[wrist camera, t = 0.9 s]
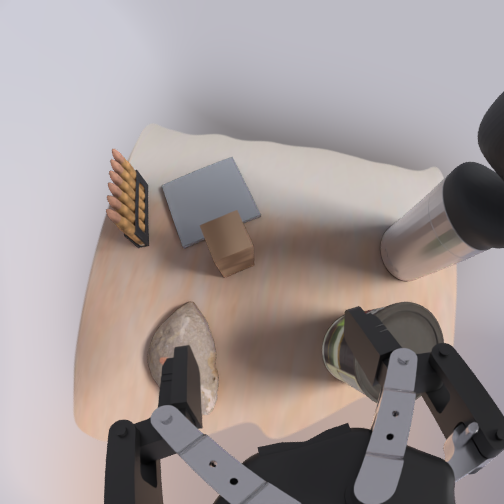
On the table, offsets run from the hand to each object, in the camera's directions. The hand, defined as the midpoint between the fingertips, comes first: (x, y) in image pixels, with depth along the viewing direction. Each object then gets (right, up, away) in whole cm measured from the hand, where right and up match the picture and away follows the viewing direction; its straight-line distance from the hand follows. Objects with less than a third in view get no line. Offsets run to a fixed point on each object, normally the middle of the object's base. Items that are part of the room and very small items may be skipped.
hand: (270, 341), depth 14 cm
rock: (-10, -10, +23) cm, 27 cm away
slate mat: (-7, +12, +28) cm, 32 cm away
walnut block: (-4, +4, +26) cm, 27 cm away
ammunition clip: (-18, +10, +28) cm, 35 cm away
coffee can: (+14, -9, +22) cm, 28 cm away
